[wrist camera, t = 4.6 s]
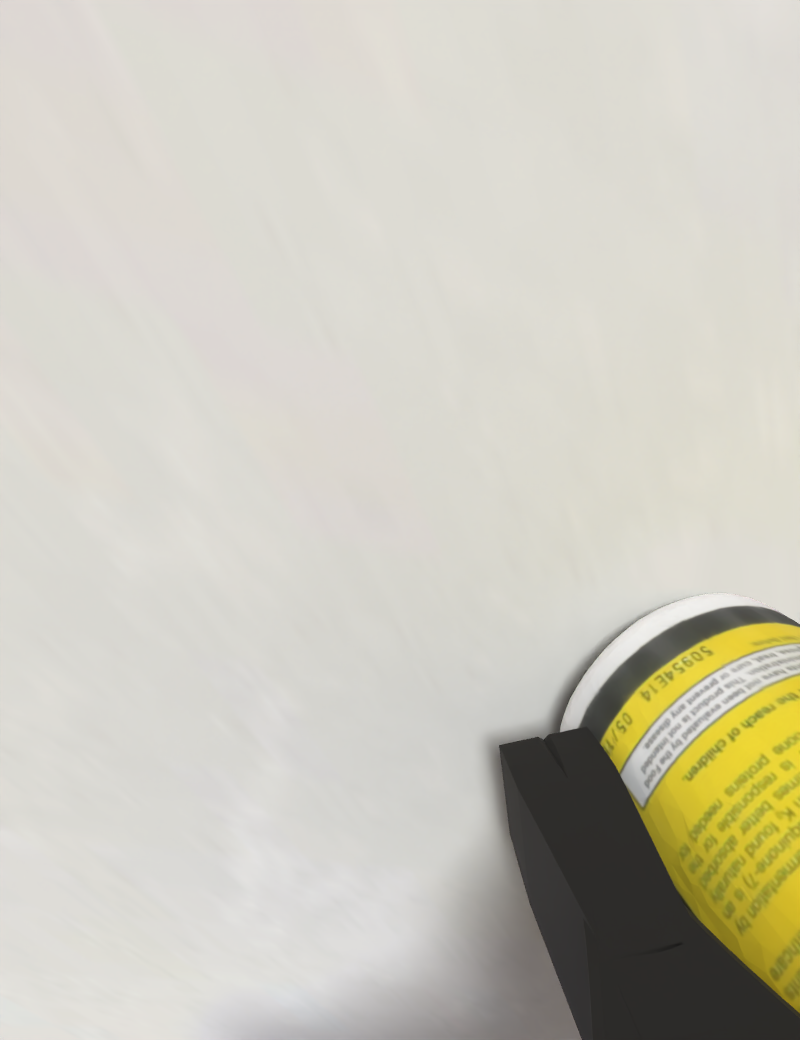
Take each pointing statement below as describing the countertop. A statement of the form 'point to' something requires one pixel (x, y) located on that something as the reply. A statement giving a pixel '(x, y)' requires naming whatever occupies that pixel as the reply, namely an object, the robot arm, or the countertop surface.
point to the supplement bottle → (713, 764)
